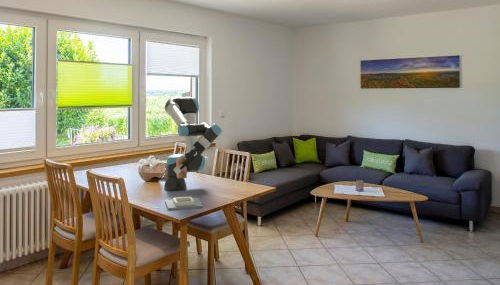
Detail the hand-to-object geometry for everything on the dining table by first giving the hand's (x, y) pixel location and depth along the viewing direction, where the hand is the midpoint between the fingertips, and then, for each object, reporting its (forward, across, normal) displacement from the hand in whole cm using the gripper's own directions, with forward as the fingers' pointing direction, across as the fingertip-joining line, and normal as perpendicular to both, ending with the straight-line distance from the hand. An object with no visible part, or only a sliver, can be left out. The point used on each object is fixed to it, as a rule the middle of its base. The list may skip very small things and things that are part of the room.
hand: (175, 172), depth 247 cm
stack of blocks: (+11, +68, -12) cm, 70 cm away
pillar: (0, 0, -5) cm, 5 cm away
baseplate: (+11, -11, -15) cm, 21 cm away
